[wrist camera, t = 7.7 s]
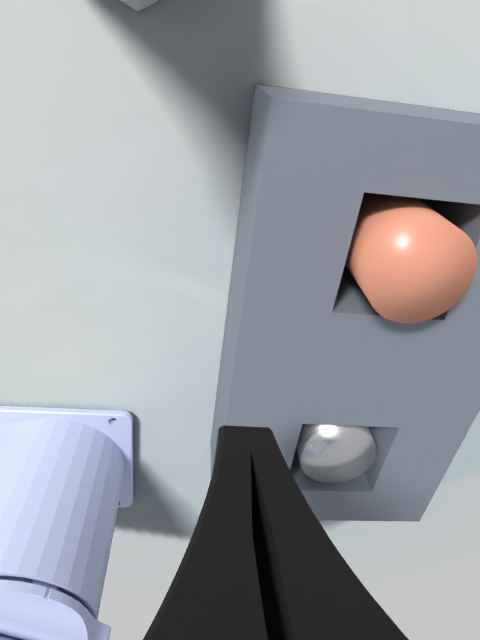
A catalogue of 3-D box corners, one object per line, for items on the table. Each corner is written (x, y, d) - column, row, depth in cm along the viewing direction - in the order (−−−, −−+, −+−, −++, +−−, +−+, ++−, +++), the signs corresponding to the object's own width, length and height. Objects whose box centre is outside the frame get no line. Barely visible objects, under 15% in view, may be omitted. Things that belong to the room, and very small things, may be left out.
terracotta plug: (323, 264, 19) (353, 319, 15) (344, 178, 17) (384, 217, 13) (403, 270, 19) (452, 326, 16) (432, 188, 17) (495, 228, 14)
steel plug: (280, 415, 25) (293, 482, 21) (291, 365, 23) (308, 428, 19) (341, 418, 26) (365, 483, 22) (357, 368, 24) (386, 431, 20)
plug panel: (210, 442, 26) (211, 518, 22) (255, 83, 17) (272, 97, 12) (386, 448, 28) (419, 521, 23) (523, 119, 18) (623, 143, 14)
